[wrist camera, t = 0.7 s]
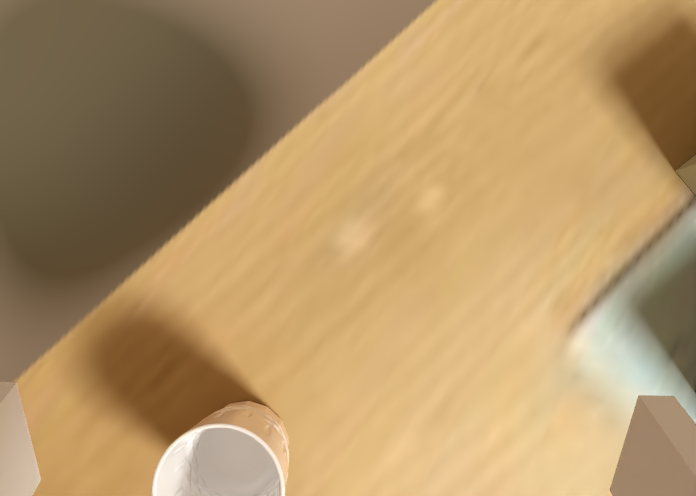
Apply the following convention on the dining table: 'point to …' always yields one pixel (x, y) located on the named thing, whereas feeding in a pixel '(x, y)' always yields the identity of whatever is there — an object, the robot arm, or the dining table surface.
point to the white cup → (227, 455)
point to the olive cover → (689, 173)
